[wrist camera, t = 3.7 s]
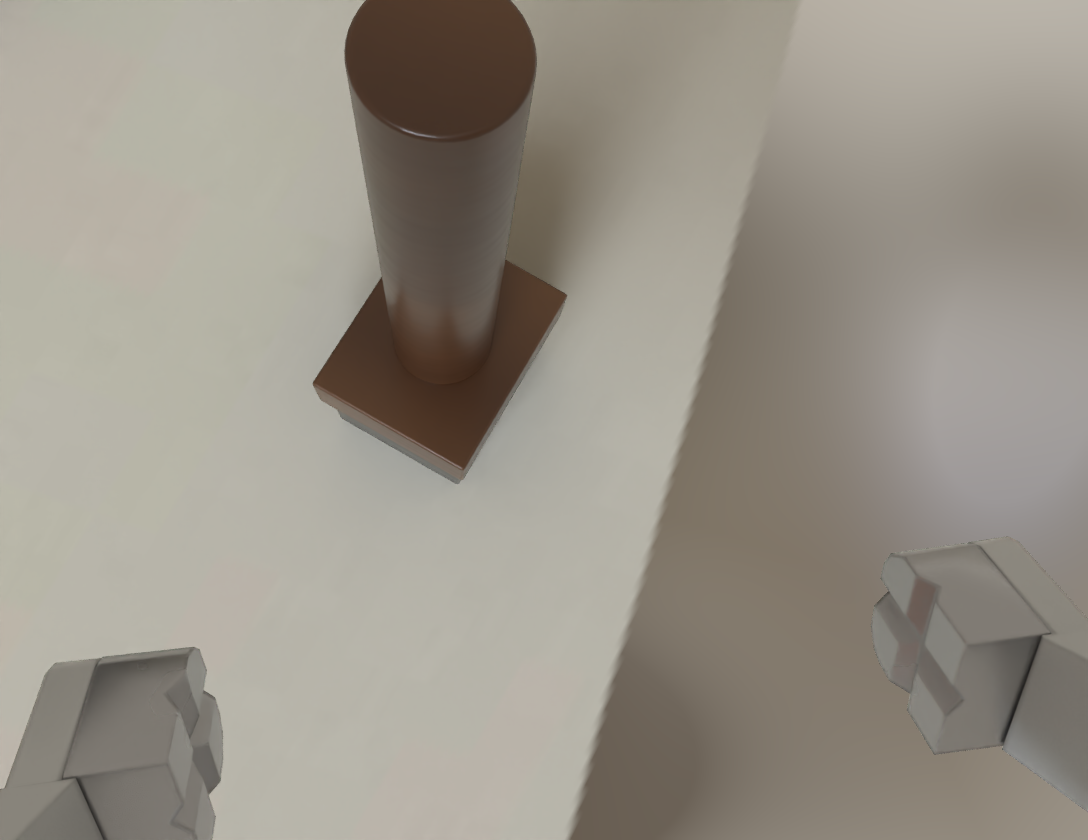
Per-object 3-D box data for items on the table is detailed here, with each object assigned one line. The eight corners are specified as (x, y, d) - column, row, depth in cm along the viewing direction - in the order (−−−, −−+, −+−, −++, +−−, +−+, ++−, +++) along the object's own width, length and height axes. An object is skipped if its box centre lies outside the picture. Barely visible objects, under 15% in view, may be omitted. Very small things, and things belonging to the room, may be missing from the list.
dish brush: (425, 270, 28) (403, -177, 13) (551, 340, 28) (682, -20, 13) (329, 419, 27) (176, 129, 12) (460, 495, 27) (483, 304, 11)
